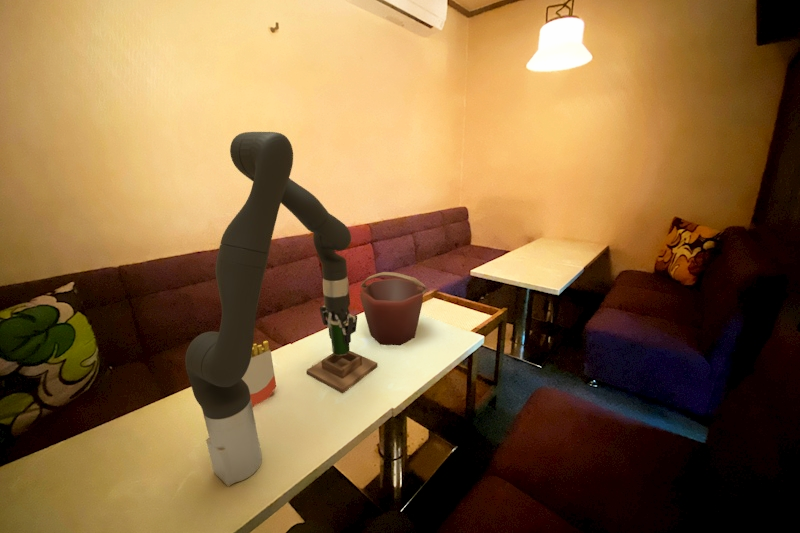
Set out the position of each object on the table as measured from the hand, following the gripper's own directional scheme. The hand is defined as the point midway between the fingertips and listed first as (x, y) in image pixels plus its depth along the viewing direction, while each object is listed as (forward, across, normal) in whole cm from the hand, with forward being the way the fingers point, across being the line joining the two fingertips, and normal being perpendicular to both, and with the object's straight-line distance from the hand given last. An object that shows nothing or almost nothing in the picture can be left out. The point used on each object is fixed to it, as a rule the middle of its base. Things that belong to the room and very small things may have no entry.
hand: (340, 340), depth 110 cm
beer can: (+4, 0, 0) cm, 4 cm away
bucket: (+11, 0, +27) cm, 29 cm away
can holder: (+11, 0, 0) cm, 11 cm away
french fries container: (+11, -11, -24) cm, 29 cm away
